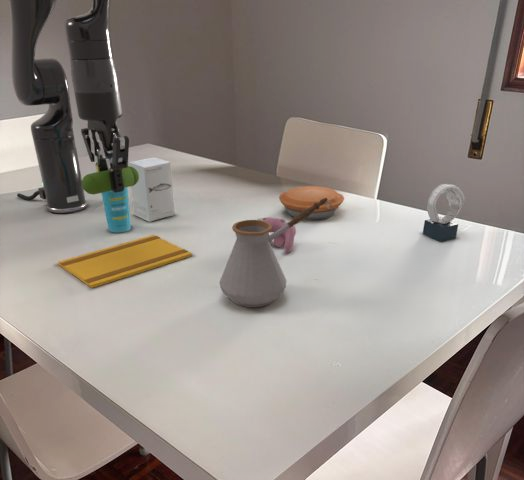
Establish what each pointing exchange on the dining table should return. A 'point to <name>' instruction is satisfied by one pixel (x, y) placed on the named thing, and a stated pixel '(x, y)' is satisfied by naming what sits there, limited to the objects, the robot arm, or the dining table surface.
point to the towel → (123, 260)
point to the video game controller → (284, 237)
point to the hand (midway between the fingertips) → (112, 188)
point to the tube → (117, 209)
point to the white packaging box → (153, 189)
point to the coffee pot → (257, 262)
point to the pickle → (108, 180)
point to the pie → (311, 201)
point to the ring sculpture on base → (443, 226)
